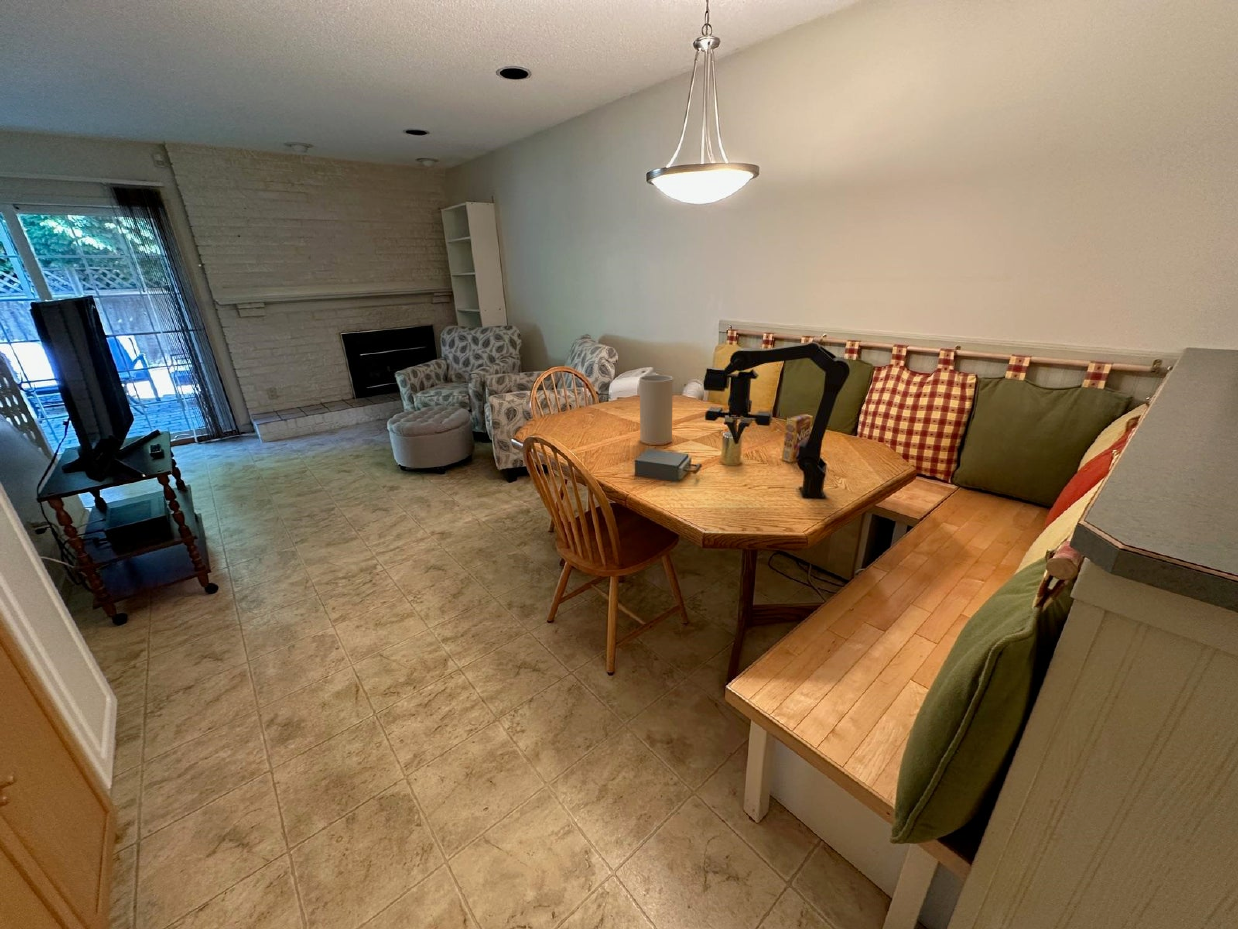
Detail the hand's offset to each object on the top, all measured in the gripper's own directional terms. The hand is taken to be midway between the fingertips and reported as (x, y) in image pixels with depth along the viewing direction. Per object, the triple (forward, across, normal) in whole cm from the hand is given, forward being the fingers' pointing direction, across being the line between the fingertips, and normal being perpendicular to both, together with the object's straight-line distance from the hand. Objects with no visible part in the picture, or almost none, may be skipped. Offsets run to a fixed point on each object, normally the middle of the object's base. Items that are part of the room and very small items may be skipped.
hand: (736, 443), depth 144 cm
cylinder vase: (+13, +37, -30) cm, 50 cm away
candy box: (+13, -15, -28) cm, 34 cm away
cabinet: (+13, +24, 0) cm, 27 cm away
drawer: (+12, +20, 0) cm, 23 cm away
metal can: (+13, +5, -17) cm, 22 cm away
